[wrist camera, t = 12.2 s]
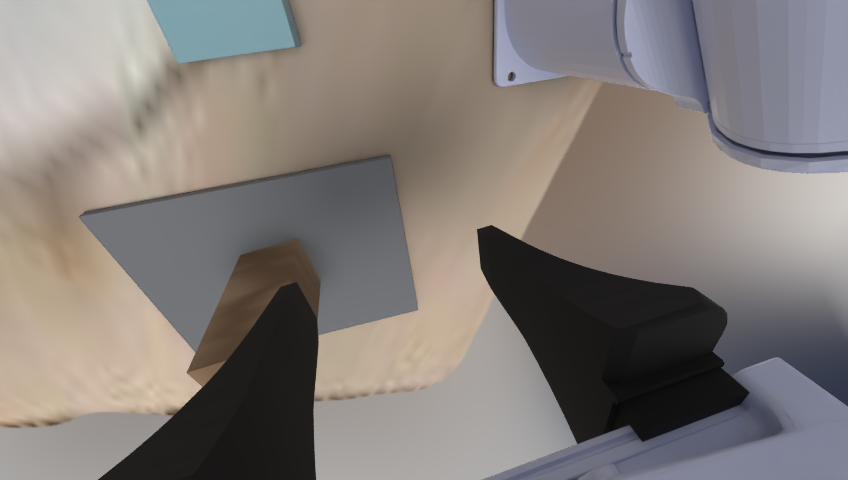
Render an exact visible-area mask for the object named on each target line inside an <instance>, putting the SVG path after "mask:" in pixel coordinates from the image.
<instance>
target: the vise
mask: <svg viewBox="0 0 848 480" xmlns="http://www.w3.org/2000/svg"><path fill="white" fill-rule="evenodd" d="M147 2H148V4H149V6H150V8H151V10H152V12H153V14H154V16H155V18H156V20H157V22H158V24H159V26H160V28H161V30H162V32H163V34H164V36H165V38H166V40H167V42H168V44H169V46H170V48H171V50H172V52H173V54H174V56H175V58H176V60H177V62H178V63H184V62H191V61H199V60H206V59H213V58H220V57H227V56H234V55H241V54H248V53H255V52H262V51H270V50H277V49H284V48H291V47H297V46H300V45H301V43H300V40H299V36H298V33H297V29H296V26H295V22H294V19H293V15H292V12H291V8H290V5H289V1H288V0H147Z"/></svg>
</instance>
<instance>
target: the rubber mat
mask: <svg viewBox="0 0 848 480" xmlns="http://www.w3.org/2000/svg"><path fill="white" fill-rule="evenodd" d="M79 218H80V220H81V221H82V222H83V223H84V224H85V225H86V226H87V228H88V229H89V230H90V231H91V232H92V233H93V235H94V236H95V237H96V238H97V239H98V240H99V241H100V243H101V244H102V245H103V246H104V247H105V248H106V250H107V251H108V252H109V253H110V254H111V255H112V257H113V258H114V259H115V260H116V261H117V262H118V263H119V265H120V266H121V267H122V268H123V269H124V270H125V272H126V273H127V274H128V275H129V276H130V277H131V278H132V280H133V281H134V282H135V283H136V284H137V285H138V287H139V288H140V289H141V290H142V291H143V292H144V294H145V295H146V296H147V297H148V298H149V299H150V300H151V302H152V303H153V304H154V305H155V306H156V307H157V309H158V310H159V311H160V312H161V313H162V314H163V315H164V317H165V318H166V319H167V320H168V321H169V322H170V324H171V325H172V326H173V327H174V328H175V329H176V330H177V332H178V333H179V334H180V335H181V336H182V337H183V339H184V340H185V341H186V342H187V343H188V344H189V346H190V347H191V348H192V349H193V350H194V351H195V352H196V351H197V349H198V347H199V345H200V342H201V340H202V338H203V336H204V334H205V331H206V329H207V327H208V325H209V323H210V320H211V318H212V316H213V314H214V312H215V309H216V307H217V305H218V303H219V301H220V298H221V296H222V294H223V292H224V290H225V287H226V285H227V283H228V281H229V279H230V276H231V274H232V272H233V270H234V268H235V265H236V263H237V261H238V259H239V257H240V255H243V254H246V253H249V252H253V251H256V250H260V249H263V248H267V247H270V246H274V245H277V244H281V243H284V242H288V241H291V240H294V239H299V241H300V242H301V244H302V246H303V248H304V250H305V252H306V254H307V255H308V257H309V259H310V261H311V263H312V265H313V267H314V269H315V270H316V272H317V274H318V276H319V278H320V280H321V285H320V298H319V310H318V323H317V324H318V335H320V334H324V333H328V332H332V331H336V330H340V329H344V328H348V327H352V326H356V325H360V324H364V323H368V322H372V321H376V320H380V319H384V318H388V317H392V316H396V315H400V314H404V313H408V312H412V311H416V310H418V306H417V300H416V295H415V289H414V284H413V278H412V273H411V267H410V261H409V256H408V250H407V245H406V239H405V234H404V228H403V223H402V217H401V211H400V206H399V200H398V195H397V189H396V184H395V178H394V172H393V167H392V161H391V157H390V155H386V156H381V157H375V158H370V159H365V160H359V161H354V162H349V163H343V164H338V165H333V166H327V167H322V168H317V169H311V170H306V171H301V172H295V173H290V174H285V175H279V176H274V177H269V178H263V179H258V180H253V181H247V182H242V183H237V184H231V185H226V186H221V187H215V188H210V189H205V190H199V191H194V192H189V193H183V194H178V195H173V196H167V197H162V198H157V199H151V200H146V201H141V202H135V203H130V204H125V205H119V206H114V207H109V208H103V209H98V210H93V211H87V212H84V213H83V214H82V215H80V216H79Z"/></svg>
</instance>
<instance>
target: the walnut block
mask: <svg viewBox="0 0 848 480" xmlns="http://www.w3.org/2000/svg"><path fill="white" fill-rule="evenodd" d="M295 282H297V283H298V285H299V287H300V289H301V290H302V292H303V294H304V296H305V298H306V299H307V301H308V303H309V305H310V306H311V308H312V310H313V312H314V314H315V315H316V317H317V323H318V310H319V298H320V285H321V280H320V278H319V276H318V274H317V272H316V270H315V269H314V267H313V265H312V263H311V261H310V259H309V257H308V255H307V254H306V252H305V250H304V248H303V246H302V244H301V242H300V241H299V239H294V240H291V241H288V242H284V243H281V244H277V245H274V246H270V247H267V248H263V249H260V250H256V251H253V252H249V253H246V254H243V255H240V257H239V259H238V261H237V263H236V265H235V268H234V270H233V272H232V274H231V276H230V279H229V281H228V283H227V285H226V287H225V290H224V292H223V294H222V296H221V298H220V301H219V303H218V305H217V307H216V309H215V312H214V314H213V316H212V318H211V320H210V323H209V325H208V327H207V329H206V331H205V334H204V336H203V338H202V340H201V342H200V345H199V347H198V349H197V351H196V353H195V356H194V358H193V360H192V362H191V364H190V367H189V369H188V371H187V374H188V375H190V376H191V377H192V378H193V379H194V380H195V381H196V382H198V383H199V384H200V385H201V386H202V387H203V386H204V385H205V384H206V383H207V382H208V381H209V380H210V379H211V378H212V377H213V375H214V374H215V373H216V372H217V371H218V370H219V369H220V368H221V366H222V365H223V364H224V363H225V362H226V361H227V359H228V358H229V357H230V356H231V355H232V353H233V352H234V351H235V349H236V348H237V347H238V345H239V344H240V343H241V342H242V340H243V339H244V338H245V336H246V335H247V334H248V332H249V331H250V330H251V328H252V327H253V325H254V324H255V323H256V321H257V320H258V318H259V317H260V315H261V314H262V313H263V311H264V310H265V308H266V307H267V305H268V304H269V302H270V301H271V299H272V298H273V297H274V295H275V294H276V292H277V291H278V289H279V288H280V287H281V286H285V285H288V284H291V283H295Z"/></svg>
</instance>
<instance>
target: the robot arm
mask: <svg viewBox="0 0 848 480" xmlns="http://www.w3.org/2000/svg"><path fill="white" fill-rule="evenodd" d="M510 72H512V73H513V77H512V79H511V80H508V78H507V77H508V74H509V73H510ZM566 76H575V77H580V78H586V79H592V80H597V81H603V82H609V83H614V84H620V85H625V86H631V87H637V88H642V89H648V90H654V91H659V92H663V93H667V94H669V95H670V96H672V98H673V99H674V100H675V102H676V105H677V107H678V108H683V109H688V110H692V111H697V112H702V113H708V112H709V113H708V125H709V133H710V135H711V138H712V140H713V142H714V143H715V144H716V146H717V147H718V148H719V149H720V150H721V151H722V152H724V153H725V154H727V155H728V156H729V157H731V158H733V159H735V160H737V161H740V162H742V163H744V164H747V165H751V166H754V167H758V168H762V169H767V170H775V171H780V172H792V173H840V172H848V0H495V7H494V83H495V84H496V85H497V86H499V87H507V86H513V85H518V84H524V83H530V82H536V81H542V80H548V79H554V78H560V77H566ZM477 234H478V244H479V254H480V264H481V270H482V272H483V274H484V276H485V278H486V280H487V282H488V284H489V286H490V288H491V289H492V291H493V292H494V294H495V295H496V297H497V298H498V300H499V301H500V303H501V304H502V306H503V307H504V309H505V310H506V311H507V313H508V314H509V316H510V317H511V319H512V320H513V322H514V323H515V325H516V326H517V327H518V329H519V330H520V332H521V334H522V335H523V337H524V338H525V340H526V342H527V344H528V346H529V347H530V349H531V351H532V353H533V355H534V357H535V358H536V360H537V362H538V364H539V366H540V368H541V370H542V372H543V374H544V376H545V378H546V380H547V381H548V383H549V385H550V387H551V389H552V391H553V393H554V395H555V397H556V400H557V402H558V404H559V406H560V408H561V410H562V412H563V414H564V416H565V418H566V420H567V422H568V424H569V427H570V429H571V431H572V433H573V435H574V437H575V440H576V442H577V445H574V446H572V447H568V448H566V449H563V450H560V451H558V452H555V453H552V454H550V455H547V456H545V457H542V458H539V459H537V460H534V461H531V462H528V463H526V464H523V465H520V466H518V467H515V468H512V469H509V470H507V471H504V472H501V473H499V474H496V475H494V476H491V477H488V478H485V479H483V480H848V406H846V405H845V404H843V403H842V402H841V401H839V400H838V399H836V398H835V397H833V396H832V395H831V394H829V393H828V392H827V391H825V390H824V389H822V388H821V387H819V386H818V385H817V384H815V383H814V382H813V381H811V380H810V379H808V378H807V377H806V376H804V375H803V374H801V373H800V372H798V371H797V370H796V369H794V368H793V367H792V366H790V365H789V364H787V363H786V362H785V361H783V360H782V359H780V358H772V359H769V360H767V361H764V362H761V363H759V364H756V365H753V366H750V367H748V368H745V369H743V370H741V371H739V372H737V373H736V374H735V375H733V376H732V377H731V376H730V375H729V374H728V373H726V372H725V371H724V370H723V369H722V368H721V367H723V365H724V362H723V360H722V359H720V358H719V357H718V356H717V355H716V354H715V353H713V352H712V351H713V349H714V347H715V346H716V344H717V342H718V340H719V339H720V337H721V335H722V334H723V331H724V330H725V327H726V325H727V313H726V312H725V310H724V309H723V308H722V307H720V306H719V305H717V304H716V303H715V302H713V301H712V300H710V299H709V298H707V297H706V296H705V295H703V294H702V293H700V292H699V291H697V290H696V289H694V288H691V287H684V286H676V285H669V284H661V283H654V282H648V281H642V280H637V279H632V278H627V277H622V276H618V275H613V274H609V273H606V272H602V271H598V270H594V269H590V268H587V267H584V266H581V265H578V264H575V263H572V262H569V261H566V260H564V259H561V258H558V257H556V256H553V255H551V254H549V253H546V252H544V251H541V250H539V249H537V248H535V247H533V246H531V245H529V244H527V243H525V242H523V241H521V240H519V239H517V238H515V237H513V236H511V235H509V234H507V233H506V232H504V231H502V230H500V229H498V228H496V227H494V226H492V225H490V226H487V227H484V228H480V229H477ZM318 343H319V342H318V324H317V317H316V315H315V314H314V312H313V310H312V308H311V306H310V305H309V303H308V301H307V299H306V298H305V296H304V294H303V292H302V290H301V289H300V287H299V285H298V283H297V282H295V283H291V284H288V285H285V286H281V287H280V288H279V289H278V291H277V292H276V294H275V295H274V297H273V298H272V299H271V301H270V302H269V304H268V305H267V307H266V308H265V310H264V311H263V313H262V314H261V315H260V317H259V318H258V320H257V321H256V323H255V324H254V325H253V327H252V328H251V330H250V331H249V332H248V334H247V335H246V336H245V338H244V339H243V340H242V342H241V343H240V344H239V345H238V347H237V348H236V349H235V351H234V352H233V353H232V355H231V356H230V357H229V358H228V359H227V361H226V362H225V363H224V364H223V365H222V366H221V368H220V369H219V370H218V371H217V372H216V373H215V374H214V375H213V377H212V378H211V379H210V380H209V381H208V382H207V383H206V384H205V385H204V386H203V387H202V388H201V389H200V390H199V391H198V392H197V393H196V394H195V395H194V396H193V397H192V398H191V399H190V400H189V401H188V402H187V403H186V404H185V405H184V406H183V407H182V408H181V409H180V410H179V411H178V412H177V413H176V414H175V415H174V416H173V417H172V418H171V419H170V420H169V421H168V422H167V423H165V424H164V425H163V426H162V427H161V428H160V429H159V430H158V431H157V432H155V433H154V434H153V435H152V436H151V437H150V438H149V439H147V440H146V441H145V442H144V443H143V444H142V445H141V446H139V447H138V448H137V449H136V450H134V452H132V453H131V454H130V455H129V456H127V457H126V458H125V459H124V460H122V461H121V462H120V463H119V464H117V465H116V466H115V467H113V468H112V469H111V470H110V471H108V472H107V473H106V474H105V475H103V476H102V477H101V478H100V479H98V480H316V473H315V453H314V423H313V422H314V418H313V407H314V391H315V380H316V368H317V356H318Z"/></svg>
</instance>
